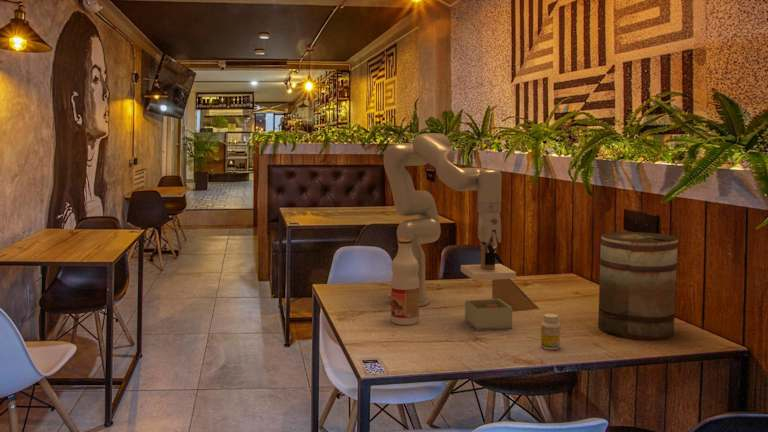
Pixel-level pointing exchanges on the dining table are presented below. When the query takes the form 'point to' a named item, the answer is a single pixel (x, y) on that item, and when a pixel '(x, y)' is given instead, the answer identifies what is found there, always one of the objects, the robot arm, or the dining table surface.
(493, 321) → the box
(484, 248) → the lid
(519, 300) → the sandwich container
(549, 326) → the supplement bottle
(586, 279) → the dining table surface
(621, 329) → the barrel
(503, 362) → the dining table surface
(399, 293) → the fruit juice
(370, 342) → the dining table surface
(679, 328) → the dining table surface
